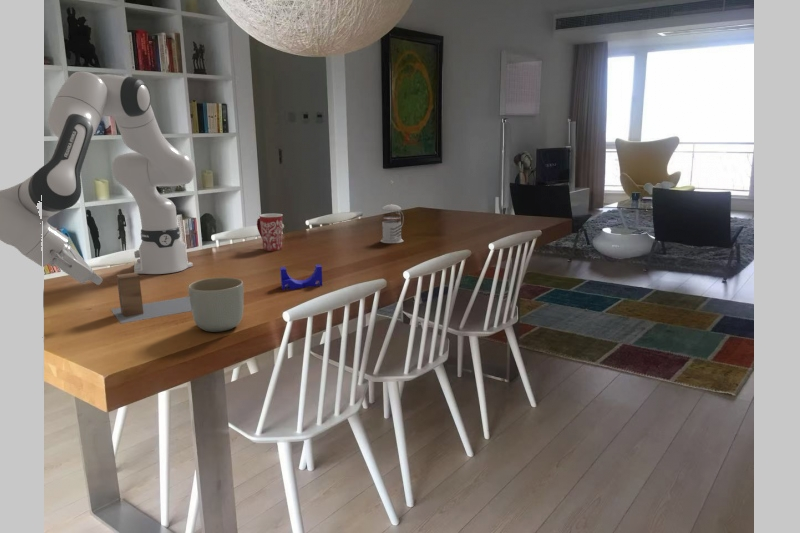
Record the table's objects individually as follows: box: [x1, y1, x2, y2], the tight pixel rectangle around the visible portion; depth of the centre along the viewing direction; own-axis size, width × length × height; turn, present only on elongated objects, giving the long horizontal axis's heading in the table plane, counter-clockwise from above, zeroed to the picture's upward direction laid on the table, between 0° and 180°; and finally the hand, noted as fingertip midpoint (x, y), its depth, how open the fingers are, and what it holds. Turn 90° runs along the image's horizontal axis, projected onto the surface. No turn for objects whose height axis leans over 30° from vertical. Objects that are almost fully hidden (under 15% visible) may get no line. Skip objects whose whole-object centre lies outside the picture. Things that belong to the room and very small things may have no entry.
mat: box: [110, 295, 192, 324], centre depth 155 cm, size 14×22×1 cm, turn 125°
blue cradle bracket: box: [279, 264, 323, 291], centre depth 176 cm, size 12×4×6 cm, turn 106°
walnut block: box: [116, 272, 144, 317], centre depth 150 cm, size 4×4×10 cm
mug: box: [256, 212, 284, 252], centre depth 230 cm, size 13×9×14 cm
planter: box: [187, 276, 244, 333], centre depth 140 cm, size 12×12×11 cm
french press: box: [380, 180, 405, 244], centre depth 243 cm, size 10×12×25 cm
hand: (100, 281), depth 145 cm, fingers closed
